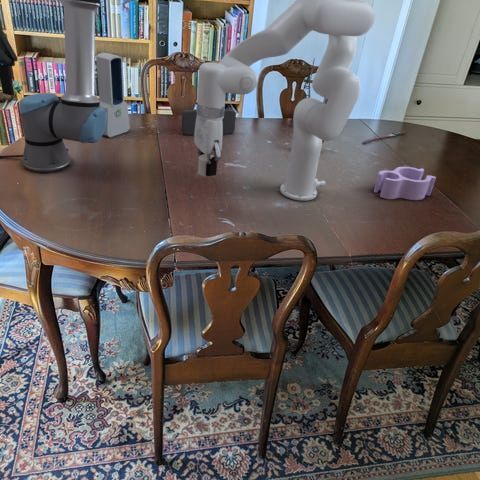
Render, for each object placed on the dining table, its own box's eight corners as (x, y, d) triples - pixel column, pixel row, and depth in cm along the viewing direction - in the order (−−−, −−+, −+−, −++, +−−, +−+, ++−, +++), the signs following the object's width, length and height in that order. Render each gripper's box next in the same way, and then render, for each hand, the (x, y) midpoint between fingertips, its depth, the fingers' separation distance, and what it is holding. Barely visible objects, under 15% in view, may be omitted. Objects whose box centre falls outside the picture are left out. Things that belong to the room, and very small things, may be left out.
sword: (401, 132, 223) (402, 129, 222) (407, 134, 221) (407, 131, 220) (358, 143, 207) (358, 140, 206) (363, 145, 205) (364, 143, 204)
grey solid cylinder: (211, 168, 141) (211, 153, 139) (217, 175, 137) (218, 160, 135) (195, 170, 139) (195, 155, 136) (201, 177, 135) (202, 162, 133)
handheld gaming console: (232, 131, 203) (234, 108, 197) (234, 133, 201) (236, 110, 195) (181, 132, 196) (181, 109, 190) (182, 135, 194) (183, 111, 188)
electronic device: (108, 138, 183) (103, 58, 167) (94, 133, 186) (88, 54, 170) (130, 130, 192) (127, 54, 176) (117, 126, 195) (113, 50, 179)
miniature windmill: (308, 129, 214) (320, 61, 198) (290, 126, 215) (300, 58, 199) (310, 123, 222) (321, 57, 206) (292, 120, 223) (302, 54, 207)
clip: (387, 202, 158) (392, 184, 155) (367, 186, 168) (372, 168, 164) (434, 198, 165) (441, 180, 161) (413, 182, 174) (419, 165, 171)
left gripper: (-78, 3, 83) (-49, 119, 94) (24, -5, 103) (38, 91, 114) (-109, -3, 85) (-77, 112, 96) (-3, -10, 105) (13, 86, 116)
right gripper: (186, 102, 133) (184, 161, 143) (210, 122, 120) (206, 185, 130) (210, 100, 136) (207, 158, 146) (236, 120, 124) (230, 182, 133)
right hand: (206, 170), depth 138 cm, fingers closed on grey solid cylinder, 5 cm apart
